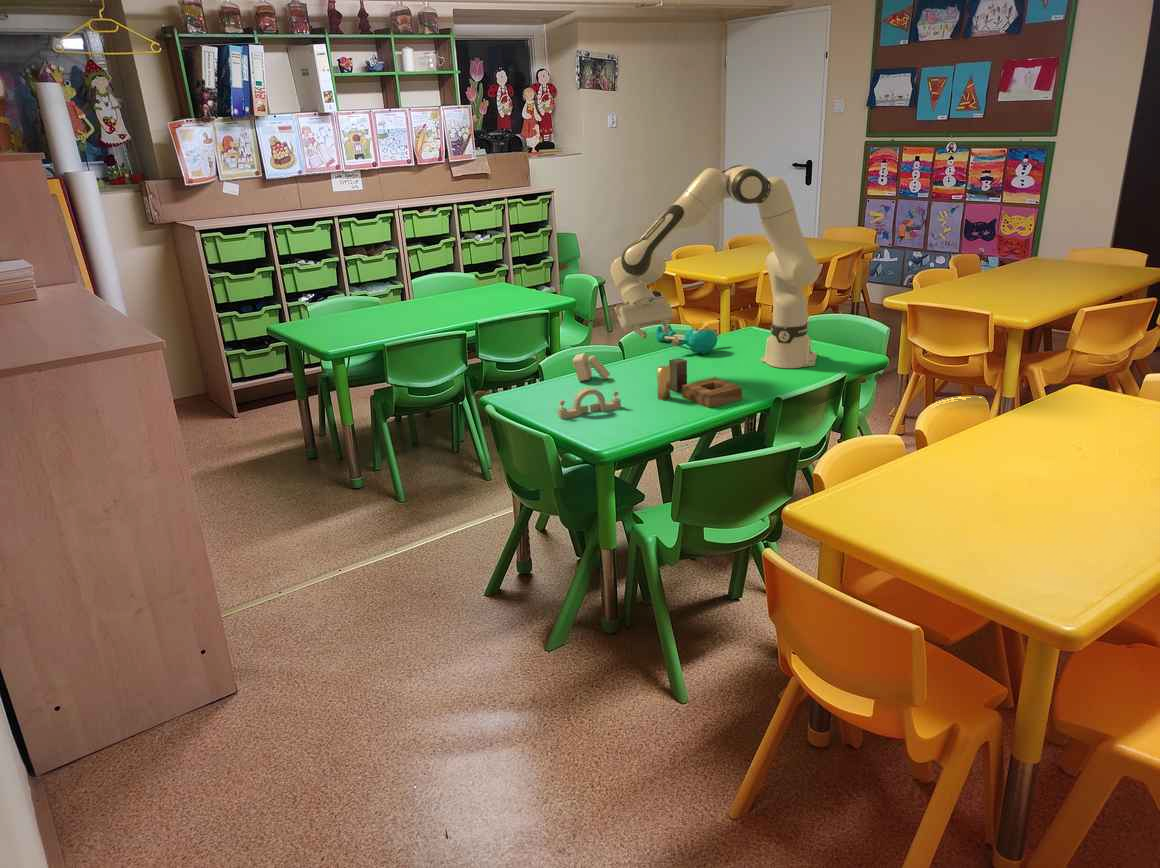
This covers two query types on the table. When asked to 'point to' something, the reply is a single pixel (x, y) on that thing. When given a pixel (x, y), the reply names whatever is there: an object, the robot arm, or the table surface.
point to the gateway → (584, 409)
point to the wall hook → (588, 367)
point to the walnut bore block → (712, 392)
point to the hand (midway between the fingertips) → (656, 335)
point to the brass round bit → (663, 382)
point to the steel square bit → (678, 374)
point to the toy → (691, 338)
